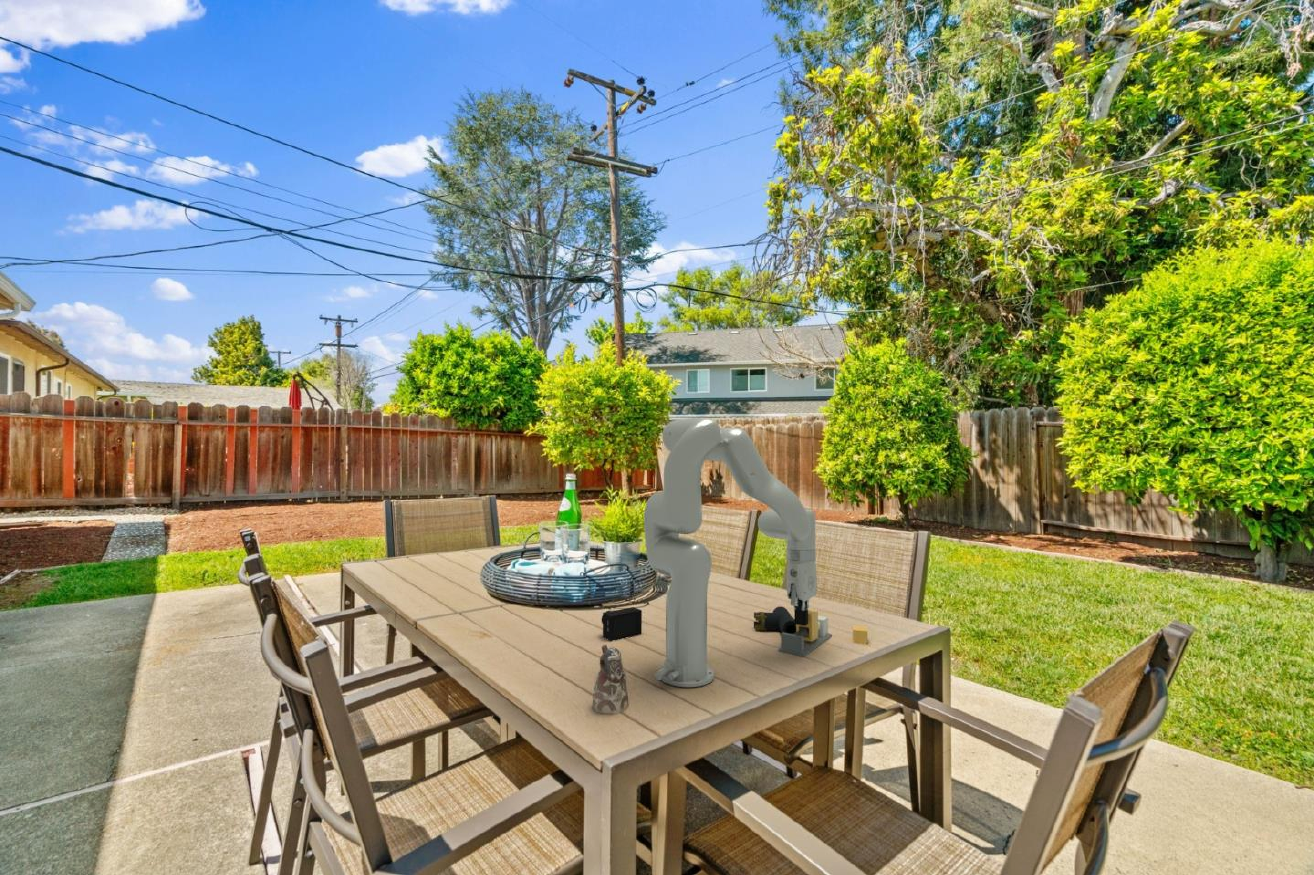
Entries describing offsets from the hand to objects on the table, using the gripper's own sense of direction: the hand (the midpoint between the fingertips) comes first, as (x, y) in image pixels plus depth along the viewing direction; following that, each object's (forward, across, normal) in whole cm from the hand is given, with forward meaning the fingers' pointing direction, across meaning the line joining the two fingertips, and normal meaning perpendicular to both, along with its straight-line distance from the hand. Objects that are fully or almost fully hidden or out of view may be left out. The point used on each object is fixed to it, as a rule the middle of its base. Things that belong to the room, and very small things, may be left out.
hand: (801, 624), depth 155 cm
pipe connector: (+7, +10, +12) cm, 17 cm away
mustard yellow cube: (+6, +15, -11) cm, 19 cm away
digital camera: (+6, -22, +44) cm, 50 cm away
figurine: (+6, -58, +17) cm, 60 cm away
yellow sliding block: (+5, +4, 0) cm, 6 cm away
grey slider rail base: (+6, +4, 0) cm, 7 cm away
